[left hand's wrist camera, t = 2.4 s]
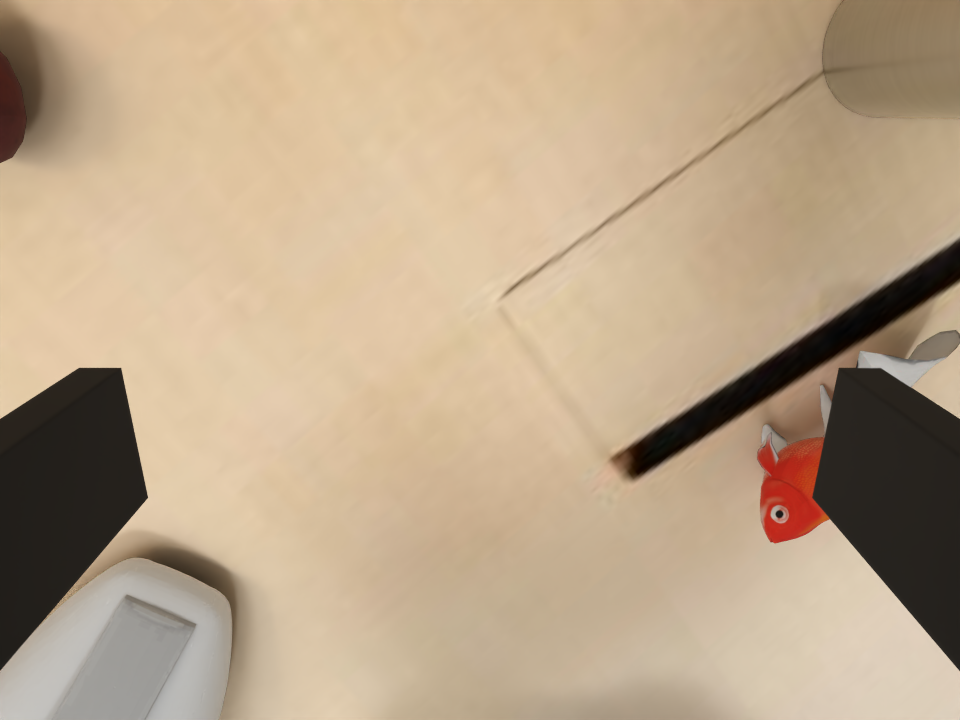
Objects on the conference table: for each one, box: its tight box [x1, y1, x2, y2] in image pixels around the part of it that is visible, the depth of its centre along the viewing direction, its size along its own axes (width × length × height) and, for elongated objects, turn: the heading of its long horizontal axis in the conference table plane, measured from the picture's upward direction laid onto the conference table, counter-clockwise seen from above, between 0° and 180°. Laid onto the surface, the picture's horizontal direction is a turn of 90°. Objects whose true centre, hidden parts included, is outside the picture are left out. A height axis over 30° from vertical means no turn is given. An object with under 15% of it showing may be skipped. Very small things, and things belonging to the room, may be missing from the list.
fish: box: [757, 330, 960, 543], centre depth 39 cm, size 11×16×10 cm
